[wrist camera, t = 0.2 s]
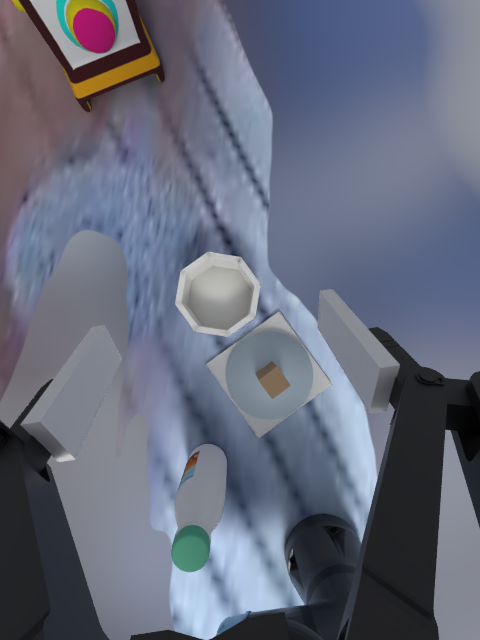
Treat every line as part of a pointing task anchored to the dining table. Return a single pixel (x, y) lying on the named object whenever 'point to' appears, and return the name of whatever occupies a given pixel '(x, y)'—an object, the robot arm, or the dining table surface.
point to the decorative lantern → (95, 43)
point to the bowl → (217, 294)
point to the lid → (269, 375)
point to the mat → (270, 325)
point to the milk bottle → (199, 506)
